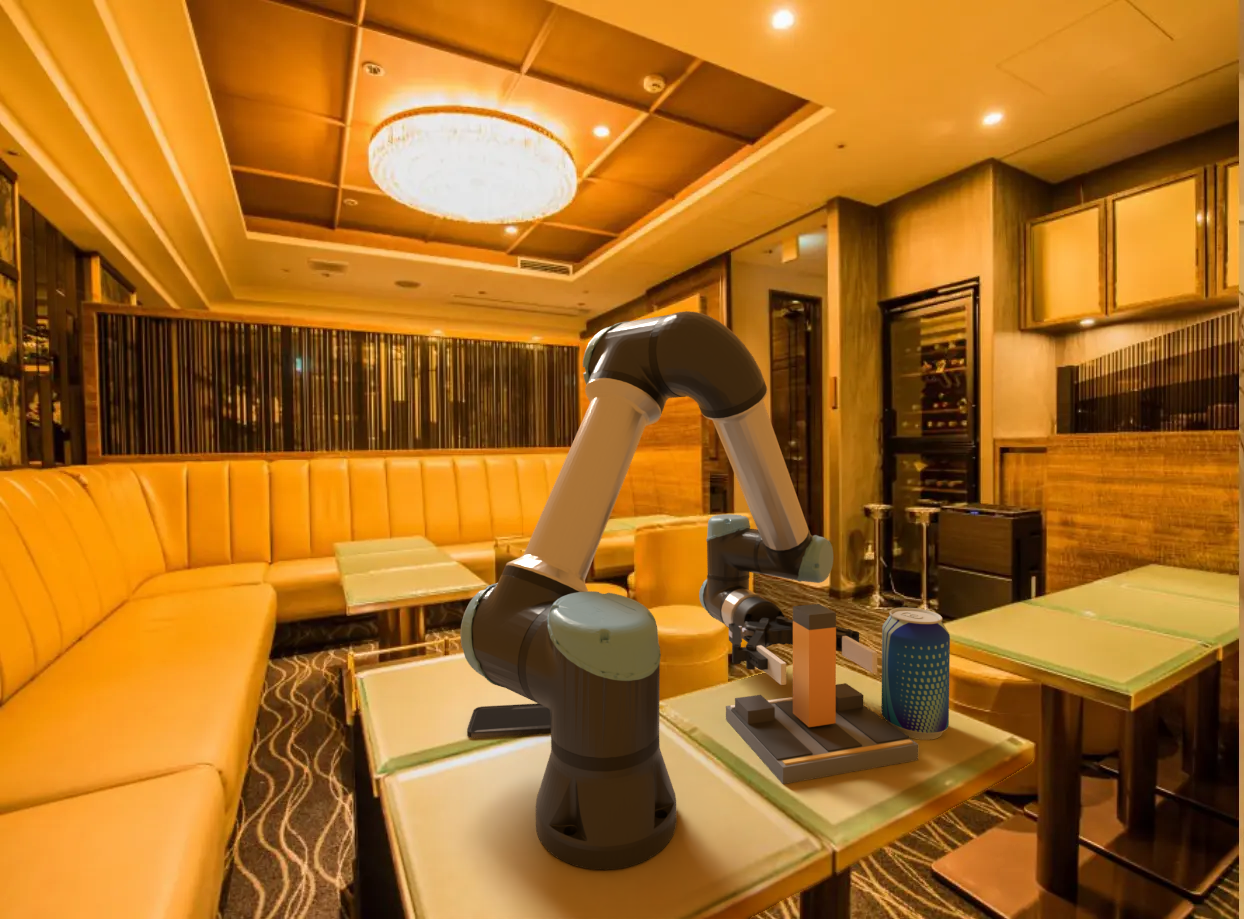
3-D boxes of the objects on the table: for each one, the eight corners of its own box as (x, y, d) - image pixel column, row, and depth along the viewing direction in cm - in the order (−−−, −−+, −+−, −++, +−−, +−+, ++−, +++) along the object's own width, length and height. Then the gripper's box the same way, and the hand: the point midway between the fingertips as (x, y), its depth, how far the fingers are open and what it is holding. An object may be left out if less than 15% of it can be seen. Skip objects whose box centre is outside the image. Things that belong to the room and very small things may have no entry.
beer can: (932, 713, 85) (933, 606, 84) (960, 744, 76) (961, 625, 76) (873, 711, 85) (873, 605, 85) (894, 741, 77) (895, 623, 76)
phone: (575, 726, 81) (465, 733, 79) (575, 734, 81) (465, 741, 79) (574, 701, 88) (474, 706, 87) (574, 708, 88) (475, 713, 87)
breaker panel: (782, 784, 68) (782, 750, 68) (725, 719, 84) (725, 692, 83) (918, 759, 73) (918, 728, 73) (840, 703, 88) (840, 677, 88)
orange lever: (808, 727, 76) (809, 615, 75) (792, 713, 80) (792, 606, 79) (835, 723, 77) (835, 612, 76) (818, 709, 81) (818, 603, 80)
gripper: (819, 633, 98) (910, 685, 78) (682, 648, 92) (742, 709, 72) (819, 589, 98) (911, 630, 77) (682, 601, 92) (742, 649, 71)
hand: (830, 668), depth 74 cm, fingers open, 13 cm apart
